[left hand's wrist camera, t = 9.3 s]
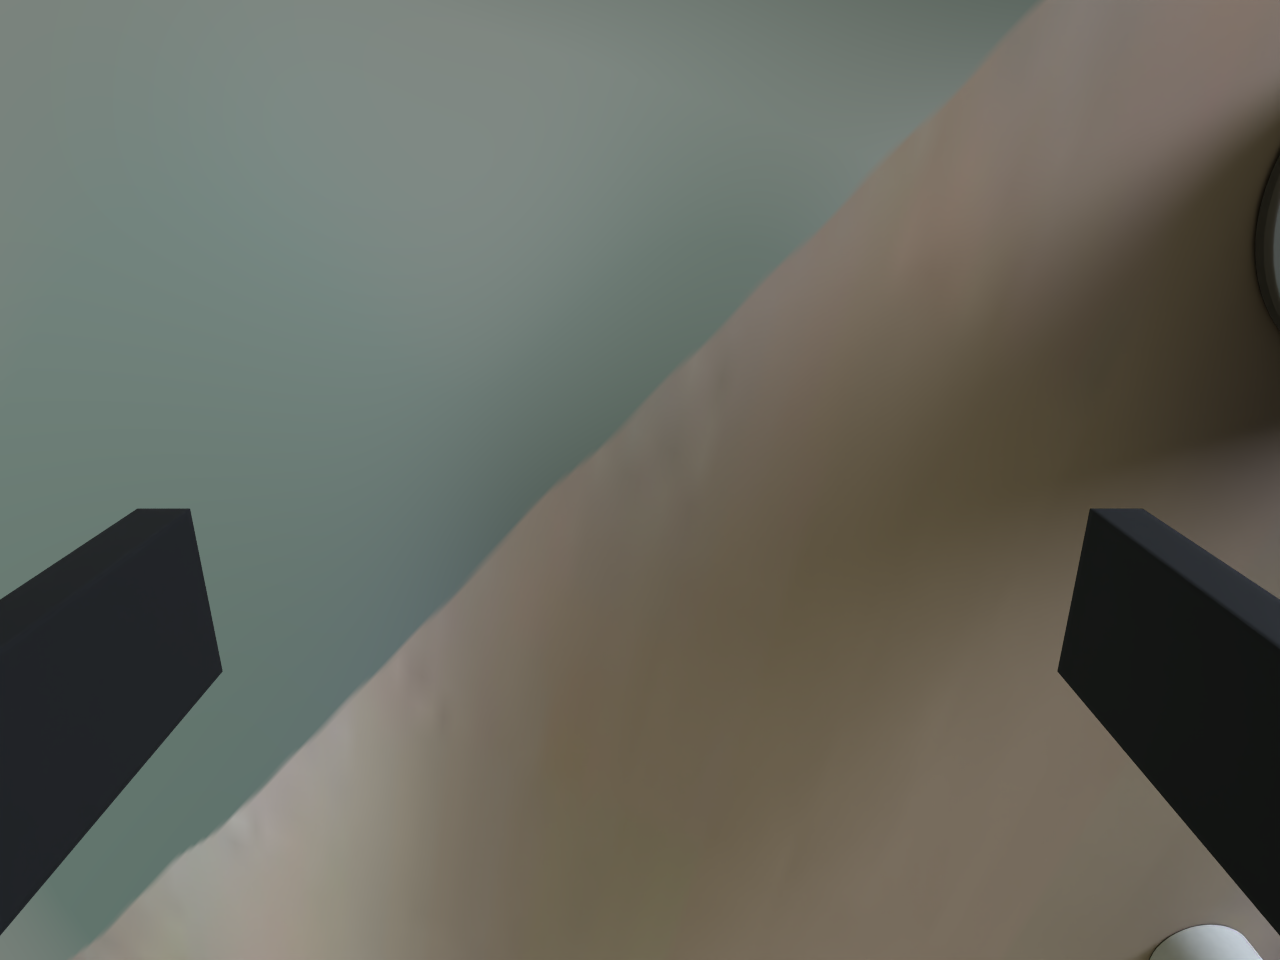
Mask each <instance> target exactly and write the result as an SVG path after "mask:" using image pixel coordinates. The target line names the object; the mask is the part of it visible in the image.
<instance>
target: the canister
mask: <svg viewBox="0 0 1280 960" xmlns="http://www.w3.org/2000/svg"><path fill="white" fill-rule="evenodd" d="M1150 960H1263V959H1262V958H1261V957H1260V956H1259V954H1258V953H1257V952H1256V951H1255V949H1254V948H1253V947H1252V946H1251V944H1250V943H1249V942H1248V941H1247V939H1246V938H1245V937H1244V936H1243V935H1242V934H1241V933H1239V932H1237V931H1236V930H1234V929H1231V928H1229V927H1225V926H1220V925H1201V926H1195V927H1191V928H1188V929H1185V930H1182V931H1180V932H1178V933H1176V934H1174V935H1172V936H1170V937H1169V938H1168V939H1166V940H1165V941H1164V942H1162V943H1161V944H1160V945H1159V946H1158V947H1157V948H1156V950H1155V951H1154V953H1153V954H1152V956H1151V958H1150Z"/></svg>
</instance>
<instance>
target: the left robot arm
mask: <svg viewBox="0 0 1280 960" xmlns="http://www.w3.org/2000/svg"><path fill="white" fill-rule="evenodd" d="M1255 262H1256V270H1257V278H1258V282H1259V286H1260V291H1261V294H1262V297H1263V300H1264V302H1265V305H1266V308H1267V310H1268V312H1269V314H1270V316H1271V318H1272V320H1273V321H1274V323H1275V324H1276V326H1277V327H1278V329H1279V330H1280V155H1279V157H1278V159H1277V162H1276V164H1275V166H1274V168H1273V170H1272V172H1271V175H1270V178H1269V181H1268V183H1267V186H1266V189H1265V192H1264V196H1263V199H1262V203H1261V207H1260V211H1259V217H1258V222H1257V229H1256V241H1255ZM221 673H222V666H221V661H220V656H219V651H218V646H217V641H216V637H215V631H214V626H213V621H212V616H211V611H210V606H209V601H208V596H207V591H206V586H205V582H204V577H203V572H202V567H201V562H200V557H199V552H198V546H197V541H196V537H195V531H194V526H193V522H192V517H191V512H190V509H136V510H135V511H133V512H132V513H130V514H129V515H127V516H126V517H124V518H123V519H121V520H120V521H118V522H117V523H115V524H114V525H112V526H111V527H109V528H108V529H106V530H105V531H103V532H102V533H100V534H99V535H97V536H96V537H94V538H92V539H91V540H89V541H88V542H86V543H85V544H84V545H82V546H80V547H79V548H77V549H76V550H74V551H73V552H71V553H70V554H68V555H67V556H65V557H64V558H62V559H61V560H59V561H58V562H56V563H55V564H53V565H52V566H50V567H49V568H47V569H46V570H44V571H43V572H41V573H40V574H38V575H37V576H35V577H34V578H32V579H31V580H29V581H28V582H26V583H25V584H23V585H22V586H20V587H19V588H17V589H16V590H14V591H13V592H11V593H10V594H8V595H7V596H5V597H4V598H2V599H1V600H0V935H1V934H2V933H3V932H4V930H5V929H6V928H7V927H8V926H9V924H10V923H11V922H12V921H13V920H14V918H15V917H16V916H17V915H18V914H19V913H20V911H21V910H22V909H23V908H24V907H25V905H26V904H27V903H28V902H29V901H30V899H31V898H32V897H33V896H34V895H35V893H36V892H37V891H38V890H39V889H40V888H41V886H42V885H43V884H44V883H45V882H46V880H47V879H48V878H49V877H50V876H51V874H52V873H53V872H54V871H55V870H56V869H57V867H58V866H59V865H60V864H61V863H62V861H63V860H64V859H65V858H66V857H67V855H68V854H69V853H70V852H71V851H72V850H73V848H74V847H75V846H76V845H77V844H78V842H79V841H80V840H81V839H82V838H83V836H84V835H85V834H86V833H87V832H88V831H89V829H90V828H91V827H92V826H93V825H94V823H95V822H96V821H97V820H98V819H99V817H100V816H101V815H102V814H103V813H104V812H105V810H106V809H107V808H108V807H109V806H110V804H111V803H112V802H113V801H114V800H115V798H116V797H117V796H118V795H119V794H120V793H121V791H122V790H123V789H124V788H125V787H126V785H127V784H128V783H129V782H130V781H131V779H132V778H133V777H134V776H135V775H136V774H137V772H138V771H139V770H140V769H141V768H142V766H143V765H144V764H145V763H146V762H147V760H148V759H149V758H150V757H151V756H152V755H153V753H154V752H155V751H156V750H157V749H158V747H159V746H160V745H161V744H162V743H163V741H164V740H165V739H166V738H167V737H168V736H169V734H170V733H171V732H172V731H173V729H174V728H175V727H176V726H177V725H178V724H179V722H180V721H181V720H182V719H183V718H184V716H185V715H186V714H187V713H188V712H189V711H190V709H191V708H192V707H193V706H194V705H195V703H196V702H197V701H198V700H199V699H200V697H201V696H202V695H203V694H204V693H205V692H206V690H207V689H208V688H209V687H210V686H211V684H212V683H213V682H214V681H215V680H216V678H217V677H218V676H219V675H220V674H221ZM1058 673H1059V674H1060V675H1061V676H1062V677H1063V678H1064V680H1065V681H1066V682H1067V683H1068V684H1069V686H1070V687H1071V688H1072V689H1073V690H1074V692H1075V693H1076V694H1077V695H1078V696H1079V697H1080V699H1081V700H1082V701H1083V702H1084V703H1085V705H1086V706H1087V707H1088V708H1089V709H1090V711H1091V712H1092V713H1093V714H1094V715H1095V717H1096V718H1097V719H1098V720H1099V721H1100V722H1101V724H1102V725H1103V726H1104V727H1105V728H1106V730H1107V731H1108V732H1109V733H1110V734H1111V736H1112V737H1113V738H1114V739H1115V740H1116V741H1117V743H1118V744H1119V745H1120V746H1121V747H1122V749H1123V750H1124V751H1125V752H1126V753H1127V755H1128V756H1129V757H1130V758H1131V759H1132V760H1133V762H1134V763H1135V764H1136V765H1137V766H1138V768H1139V769H1140V770H1141V771H1142V772H1143V774H1144V775H1145V776H1146V777H1147V778H1148V779H1149V781H1150V782H1151V783H1152V784H1153V785H1154V787H1155V788H1156V789H1157V790H1158V791H1159V793H1160V794H1161V795H1162V796H1163V797H1164V798H1165V800H1166V801H1167V802H1168V803H1169V804H1170V806H1171V807H1172V808H1173V809H1174V810H1175V812H1176V813H1177V814H1178V815H1179V816H1180V817H1181V819H1182V820H1183V821H1184V822H1185V823H1186V825H1187V826H1188V827H1189V828H1190V829H1191V831H1192V832H1193V833H1194V834H1195V835H1196V836H1197V838H1198V839H1199V840H1200V841H1201V842H1202V844H1203V845H1204V846H1205V847H1206V848H1207V850H1208V851H1209V852H1210V853H1211V854H1212V855H1213V857H1214V858H1215V859H1216V860H1217V861H1218V863H1219V864H1220V865H1221V866H1222V867H1223V869H1224V870H1225V871H1226V872H1227V873H1228V875H1229V876H1230V877H1231V878H1232V879H1233V880H1234V882H1235V883H1236V884H1237V885H1238V886H1239V888H1240V889H1241V890H1242V891H1243V892H1244V894H1245V895H1246V896H1247V897H1248V898H1249V899H1250V901H1251V902H1252V903H1253V904H1254V905H1255V907H1256V908H1257V909H1258V910H1259V911H1260V913H1261V914H1262V915H1263V916H1264V917H1265V918H1266V920H1267V921H1268V922H1269V923H1270V924H1271V926H1272V927H1273V928H1274V929H1275V930H1276V932H1277V933H1278V934H1279V935H1280V600H1279V599H1278V598H1276V597H1275V596H1273V595H1272V594H1270V593H1269V592H1267V591H1266V590H1264V589H1263V588H1261V587H1260V586H1258V585H1257V584H1255V583H1254V582H1252V581H1251V580H1249V579H1248V578H1246V577H1245V576H1243V575H1242V574H1240V573H1239V572H1237V571H1236V570H1234V569H1233V568H1231V567H1230V566H1228V565H1227V564H1225V563H1224V562H1222V561H1221V560H1219V559H1218V558H1216V557H1215V556H1213V555H1212V554H1210V553H1209V552H1207V551H1206V550H1204V549H1203V548H1201V547H1200V546H1198V545H1197V544H1195V543H1194V542H1192V541H1191V540H1189V539H1188V538H1186V537H1184V536H1183V535H1181V534H1180V533H1178V532H1177V531H1175V530H1174V529H1172V528H1171V527H1169V526H1168V525H1166V524H1165V523H1163V522H1162V521H1160V520H1159V519H1157V518H1156V517H1154V516H1153V515H1151V514H1150V513H1148V512H1147V511H1145V510H1144V509H1090V512H1089V516H1088V521H1087V526H1086V531H1085V536H1084V541H1083V546H1082V551H1081V556H1080V561H1079V566H1078V571H1077V576H1076V581H1075V586H1074V591H1073V596H1072V601H1071V606H1070V611H1069V616H1068V621H1067V626H1066V631H1065V636H1064V641H1063V646H1062V651H1061V656H1060V661H1059V666H1058Z"/></svg>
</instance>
